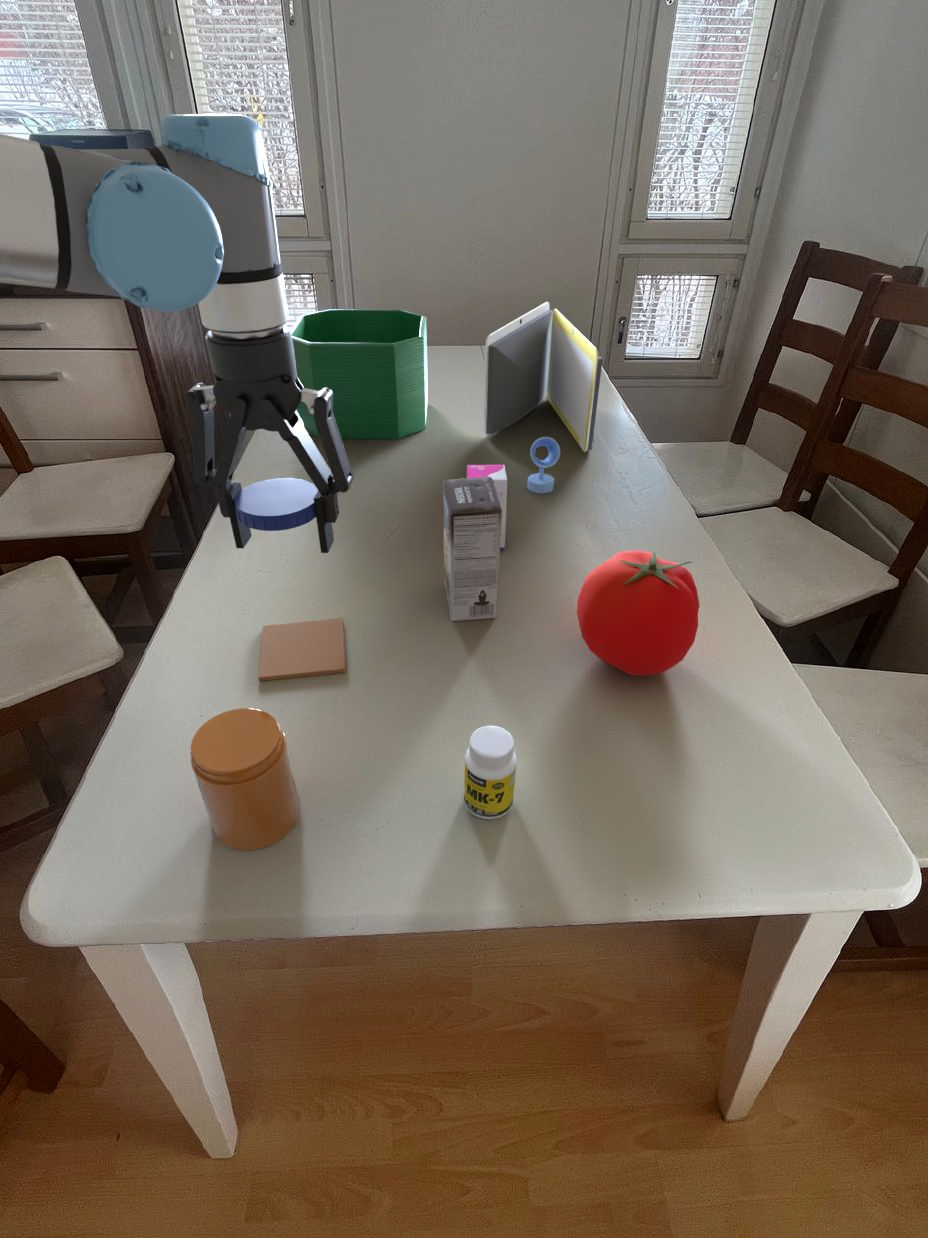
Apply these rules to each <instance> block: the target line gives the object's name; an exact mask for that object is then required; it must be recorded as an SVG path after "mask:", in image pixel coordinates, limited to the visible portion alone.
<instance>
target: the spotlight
mask: <svg viewBox="0 0 928 1238" xmlns="http://www.w3.org/2000/svg"><path fill="white" fill-rule="evenodd" d="M539 447H545V448H546V449H547V451H548V455H547V456H546V458H545V459H538V458H537V457H536V450H537V449H538V448H539ZM529 456H530V459H531V461H532V462H533V464H534V465H536V466H537V467H539V471H538V472H536V473H532V474H530V475H529V476H528V477H527V483H526V485H527V489H528V491H530V492H532V493H535V494H548V493H551V492H552V491H553V490H554V485H555V478H554V477H553V476H552V475H551V474H548V473H545V468H547V469H548V468H550V467H553V466H554V465H555V464H557V462H558V461H559V459H560V457H561V448H560V445H559V443H558V442H557V440H555V439H554V438H553V437H550V436H541V437H539V438H537V439H536V440H535V441H533V443H532V444H531V446H530V450H529Z"/></svg>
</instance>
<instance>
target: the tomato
mask: <svg viewBox="0 0 928 1238" xmlns="http://www.w3.org/2000/svg"><path fill="white" fill-rule="evenodd" d="M690 563H692V561H685V562H681V563H678V562H673V561H668V560H665V559H662V558H660V557H658V556H657V554H656V552H655V551H654V552H653V553H651V552H648V551H644V550H643V551H642V550H638V549H637V550H636V549H635V550H626V551H625V550H624V551H619V552H617V553H616V554H614V555H613V556H611V557H610V558H609V559H607V560H606V561H605V562H603V563H602V564H599V565H597V566H596V567H595V568H593V569H592V571H590V572H589V573H588V574H587V575H586V577H585V579H584V581H583V584H582V585H581V586H582V587H581V588H580V591H579V593H578V596H577V601H576V602H577V603H576V616H577V620H578V624H579V625H578V626H579V629H580V634H581V637H582V639H583V641H584V643H585V644H586V647H587V648H588V649H589V651H590V652H591V653H592V654H594V656H595V657H597V658H598V659H599V660H601V661H602V662H604V663H606V664H608V665H610V666H612V667H613V668H616V669H618V670H620V671H622V672H624V673H626V674H627V675H630V676H643V677H647V676H653V675H658V674H663V673H665V672H666V671H668V670H669V669H671V668H673V667H675V666H676V665H679V663H680V662H682V661H683V660H684V659H685V657H686V656H687V654H688V652H689V651H690V649H692V646H693V644H694V643H695V640H696V636H697V633H698V627H699V610H700V600H699V594H698V587H697V585H696V582H695V579H694V576H693V574H692V573H691V572H690V570H688V569H687V568H686V567H684V566H685V565H687V564H690Z"/></svg>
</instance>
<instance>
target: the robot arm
mask: <svg viewBox="0 0 928 1238" xmlns="http://www.w3.org/2000/svg"><path fill="white" fill-rule="evenodd" d="M160 131H161V138H160V143H161V145H153V146H151V147H144V148H116V149H115V148H104V149H103V148H97V149H96V148H95V149H94V148H93V149H92V148H90V149H88V148H87V149H86V148H85V149H75V148H74V149H73V148H71V147H70V148H69V147H64V146H59V145H52V144H47V143H46V144H45V143H41V142H38V141H36V140H32V139H27V138H21V137H17V136H13V135H8V134H3V133H0V284H8V285H18V286H28V287H38V288H49V289H52V290H53V289H54V290H61V291H66V292H71V293H79V294H80V293H81V294H91V295H102V296H109V297H119V298H120V299H122V300H124V301H126V302H127V303H131V304H133V305H135V306H137V307H139V308H143V309H149V310H153V311H158V312H165V313H166V312H167V313H170V312H179V311H180V312H181V311H184V310H188V309H190V308H192V307H195V306H196V305H198V310H199V315H200V320H201V324H202V326H203V327H204V328H205V329H207V330H208V331H207V332H206V334H205V342H206V347H207V351H208V357H209V362H210V366H211V370H212V373H213V375H214V382H213V384H212V385H205V384H204V383H203V382H198V383H196V384H195V385H193V386H192V387H191V388H190V389H189V390H188V391H186V392H185V394H184V398H185V401H186V404H187V406H188V409H189V412H190V414H191V429H192V430H191V431H192V462H193V465H192V467H193V481H194V483H195V484H196V485H197V486H200V487H203V486H207V487H210V488H212V489H213V491H214V492H215V493H216V494H215V495H216V497H217V503H218V508H219V512H220V514H221V516H222V517H223V518H227V519H228V518H229V520H230V525H231V526H230V527H231V529H232V535H233V539H234V544H235V547H236V549H244V548H245V547H246V545H247V544H248V542H249V541H250V539H252V530H251V528H249V527H247V526H245V525H243V524H242V523H241V522H240V521H239V519H238V518H237V516H236V512H235V503H234V499H235V496H236V495H237V494H238V492H239V491H241V490H242V489H243V488H242V483H241V482H240V481H239V482H237V481H234V482H232V481H233V480H234V478H235V476H236V475H234V474H235V472H236V468H237V464H238V462H239V458H240V455H241V451H242V448H243V444H244V442H245V438H246V435H247V431H258V430H264V431H268V432H277V433H278V434H279V436H280V437H281V439H282V440H283V441H285V442H286V443H287V444H288V446H289V447H290V448H291V450H292V452H293V453H294V455H295V457H296V458H297V460H298V461H299V463H300V464H301V466H302V467H303V469H304V471H305V472H306V473H307V475H308V477H309V478H310V480H311V482H312V484H314V485H315V486H316V488H317V489H318V491H317V493H316V495H315V497H314V505H315V513H316V518H315V519H316V525H317V533H318V540H319V548H320V553H321V554H329V552H330V550H331V548H332V546H333V544H334V542H335V536H334V535H335V534H334V529H333V524H336V522H337V519H338V518H339V516H340V505H339V497H338V493H347V492H348V491H349V488H350V487H351V484H352V482H353V481H354V474H353V470H352V467H351V465H350V464H351V463H350V461H349V457H348V455H347V452H346V449H345V445H344V442H343V439H341V436H340V433H339V430H338V427H337V423H336V420H335V417H334V414H333V392H332V390H331V389H329V388H323V389H322V390H321V391H317V390H312V389H306V388H304V387H303V385H302V384H301V382H300V381H299V379H298V376H297V372H296V362H295V355H294V348H293V341H292V334H291V328H289V327H288V325H286V324H287V322H288V321H289V320H290V314H289V307H288V299H287V292H286V285H285V278H284V272H283V266H282V261H281V256H280V255H281V253H280V246H279V238H278V230H277V222H276V213H275V206H274V198H273V197H274V196H273V190H272V188H273V181H272V178H271V174H270V169H269V163H268V162H269V161H268V158H267V152H266V148H265V145H264V140H263V136H262V132H261V128H260V127H259V125H258V124H257V123H256V122H255V120H253V118H251V117H250V116H247V115H244V114H236V113H235V114H234V113H187V114H167V115H164V116H163V117H162V119H161V121H160ZM216 400H217V401H216ZM217 402H218V403H219V404H220V405H221V406H222V407H223V408H224V409H225V410H226V411H227V413H228V414H229V415H230V416H229V420H228V423H227V426H226V430H225V434H226V435H225V439H224V441H223V446H222V449H221V453H220V456H219V460H218V464H217V467H216V469H215V411H214V410H215V409H214V407H215V406H216V405H217ZM300 402H304V403H305V404H306V405H307V407H308V410H309V413H310V414H313V415H314V420H315V425H316V428H317V431H318V434H319V437H320V438H319V440H320V443H321V446H322V449H323V452H324V455H325V457H326V460H327V461H325V459H324V457H323V456H322V454H321V452H320V451H319V449H318V448H317V446H316V444H315V442H314V441H313V439H312V437H311V436H310V434H309V433H307V431H306V430H305V428H304V423H303V421H302V419H301V417H300V416H299V414H298V412H297V411H296V409H297V408H298V406H299V404H300Z"/></svg>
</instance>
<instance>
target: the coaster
mask: <svg viewBox="0 0 928 1238" xmlns="http://www.w3.org/2000/svg"><path fill="white" fill-rule="evenodd" d="M261 636H262V637H261V646H260V657H259V665H258V677H257V679H258V681H259V682H264V681H274V680H275V681H276V680H284V679H285V680H286V679H295V678H303V677H310V676H311V677H312V676H322V675H332V674H333V675H334V674H341V673H346V672H347V670H346V669H347V668H346V666H347V665H346V649H345V647H346V646H345V629H344V618H343V617H339V618H331V619H330V618H329V619H320V620H309V621H299V622H288V623H277V624H267V625H265V624H264V625H263V626H262V635H261Z"/></svg>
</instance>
